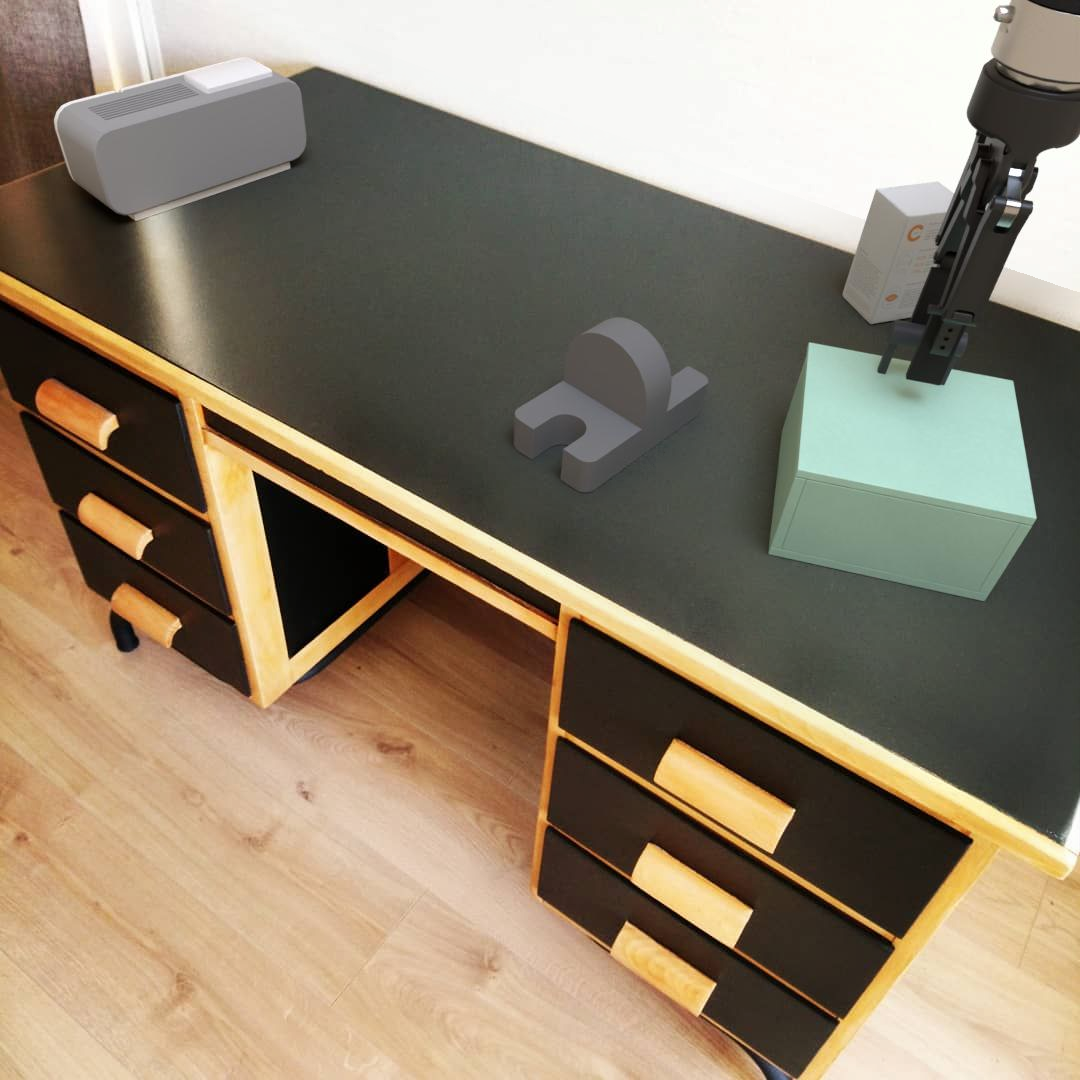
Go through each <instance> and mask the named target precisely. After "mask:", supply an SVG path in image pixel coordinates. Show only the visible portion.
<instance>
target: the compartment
mask: <svg viewBox="0 0 1080 1080" xmlns="http://www.w3.org/2000/svg"><path fill="white" fill-rule="evenodd" d="M805 364H806V357H805V358H804V360H803V365H802V367H801V371H800V374H799V377H798V380H797V383H796V386H795V388H794V392H793V395H792V398H791V402H790V405H789V408H788V411H787V414H786V417H785V420H784V424H783V428H782V430H781V435H780V445H779V454H778V462H777V472H776V480H775V489H774V499H773V506H772V507H773V508H772V517H771V525H770V534H769V544H768V553H767V555H769V556H773V557H779V558H784V559H788V560H792V561H796V562H801V563H805V564H806V563H807V564H811V565H816V566H820V567H824V568H829V569H834V570H839V571H843V572H847V573H852V574H857V575H861V576H865V577H870V578H875V579H880V580H884V581H889V582H893V583H897V584H902V585H906V586H912V587H915V588H920V589H926V590H930V591H935V592H939V593H944V594H949V595H952V596H957V597H962V598H965V599H971V600H976V601H980V602H985V601H986V600H987V598H988V596H989V595H990V594H991V592H992V590H993V589H994V587H995V586H996V584H997V583H998V582H999V579H1000V578H1001V577H1002V575H1003V573H1004V572H1005V570H1006V568H1007V567H1008V566H1009V563H1010V562H1011V561H1012V559H1013V557H1014V556H1015V554H1016V553H1017V551H1018V550H1019V548H1020V546H1021V545H1022V543H1023V542H1024V540H1025V538H1026V537H1027V535H1028V534H1029V532H1030V530H1031V529H1032V527H1033V525H1028V524H1023V523H1018V522H1013V521H1008V520H1003V519H999V518H994V517H989V516H984V515H979V514H974V513H970V512H965V511H960V510H955V509H950V508H945V507H941V506H936V505H931V504H926V503H921V502H916V501H912V500H907V499H902V498H897V497H892V496H887V495H883V494H878V493H873V492H868V491H863V490H858V489H854V488H849V487H844V486H839V485H834V484H829V483H825V482H820V481H815V480H810V479H805V478H800V477H796V476H795V474H796V463H797V452H798V441H799V430H800V419H801V408H802V397H803V386H804V375H805Z"/></svg>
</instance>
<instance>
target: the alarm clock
mask: <svg viewBox="0 0 1080 1080" xmlns="http://www.w3.org/2000/svg"><path fill="white" fill-rule="evenodd" d="M303 104H304V103H303V96H302V92H301V89H300V87H299V85H298V84H297V83H296V82H295V81H293V80H292V79H289V78H288V77H286V76H284V75H282V74H280V73H278V72H276V71H274V69H271V68H270V67H268V66H265V65H264V64H262V63H260V62H258V61H256V60H255V59H252V58H251V57H248V56H242V57H236V58H233V59H229V60H224V61H222V62H217V63H213V64H209V65H205V66H202V67H198V68H193V69H190V70H187V71H182V72H179V73H175V74H170V75H167V76H164V77H159V78H156V79H151V80H148V81H144V82H140V83H136V84H131V85H129V86H125V87H121V88H120V89H119V91H115V90H109V91H106V92H101V93H97V94H94V95H89V96H86V97H82V98H78V99H74V100H71V101H68V102H66V103H64V104H62V105H60V107H59V108H58V109H57V110H56V112H55V115H54V119H53V123H54V124H53V125H54V130H55V133H56V136H57V139H58V142H59V146H60V149H61V152H62V156H63V159H64V163H65V165H66V168H67V171H68V174H69V176H70V178H71V179H72V181H74V182H75V184H77V186H80V187H81V188H82V189H83V190H85V191H86V192H88V193H89V194H90V195H92V196H93V197H94V198H96V199H97V200H98V201H100V203H102V204H104V205H105V206H106V207H108V208H109V209H111V210H112V211H113V212H115V213H116V214H118V215H122V216H128V217H129V218H131V219H132V220H134V221H135V222H138V221H141V220H143V219H146V218H150V217H152V216H155V215H158V214H161V213H164V212H167V211H170V210H173V209H176V208H178V207H182V206H184V205H187V204H190V203H193V202H196V201H199V200H203V199H205V198H208V197H211V196H214V195H217V194H220V193H223V192H226V191H229V190H232V189H235V188H237V187H241V186H243V185H246V184H249V183H252V182H255V181H258V180H261V179H264V178H266V177H270V176H273V175H276V174H279V173H282V172H284V171H287V170H290V169H291V163H290V162H292V161H295V160H296V159H298V158H300V156H301V155H302V154H303V153H304V151H305V150H306V146H307V136H308V135H307V129H306V121H305V120H306V119H305V112H304V105H303Z"/></svg>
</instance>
